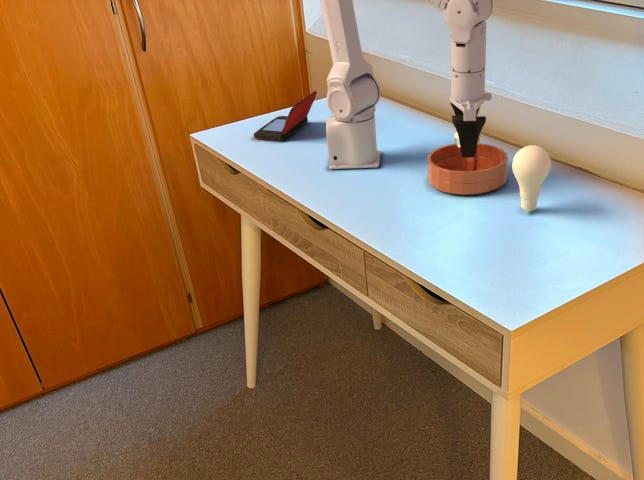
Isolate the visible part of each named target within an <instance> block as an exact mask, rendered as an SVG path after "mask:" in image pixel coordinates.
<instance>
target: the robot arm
mask: <svg viewBox="0 0 644 480" xmlns="http://www.w3.org/2000/svg"><path fill="white" fill-rule="evenodd" d="M430 2H432V4H434V5H435V6H436V7H437V8H438V9H440V10H441V12H442V13H443V14H442V15H443V18H444V21H445V23H446V25H447V26H448V28H449V32H450V36H449V37H450V94H449V102H450V103H449V104H450V106H451V108H452V110H453V112H454V115H451V122H452V124H453V127H454V128H455V130H456V132H457V133H458V137H459V142H460V149H461V154H462V157H474V156H475V153H476V149H477V143H478V139H479V135H480V134H481V132H482V130H483V128H484V126H485V124H486V122H487V117H486V115H485V116H484V115H483V116H482V115H481V116H478V114H479V111H480V109H481V107H482V105H483V104H484V103H485V102H487V101H488V102H489V101H492V100H493V95H492V93H491V92H486V60H487V59H486V58H487V55H486V54H487V20H488V19H489V18H490V17H491V15H492V13H493V8H494V2H493V0H430ZM320 5H321V10H322V16H323V20H324V26H325V31H326V35H327V40H328V45H329V50H330V55H331V59H332V67H331V69H330V71H329V72H328V76H327V78H326V84H327V85H326V86H327V94H326V103H327V104H326V105H327V108H328V110H329V112H330V113H331V115H332V116H327V117H326V121H325V134H326V145H327V154H328V161H329V162H328V163H329V169H330V170H345V169H347V170H348V169H369V168H370V169H371V168H373V169H375V168H379V167H380V161H381V150H378V144H377V131H376V128H377V127H376V115H375V114H376V113H375V112H376V105H377V104H379V102H380V99H381V96H382V95H381V93H382V92H381V86H380V84H379V82H378V80H377V78H376V77H375V74H374V70H373V66H372V65H371V64H370V63H369V62H368V61H367V60H366V59H364V57H363V52H362V47H361V46H362V45H361V41H360V34H359V29H358V24H357V18H356V12H355V7H354V2H353V0H320Z"/></svg>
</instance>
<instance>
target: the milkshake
mask: <svg viewBox="0 0 644 480" xmlns="http://www.w3.org/2000/svg"><path fill="white" fill-rule="evenodd" d="M480 143H481V133H480V135H479V139H478V143H477V149H476V153H475V156H474V157H462V154H461V149H460V142H459V137H458V133H457V131H456V132H455V133H454V144H455V147H456V156H457V169H458V171H477V160H478V151H479V144H480Z"/></svg>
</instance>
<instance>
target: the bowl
mask: <svg viewBox="0 0 644 480" xmlns="http://www.w3.org/2000/svg"><path fill="white" fill-rule="evenodd" d="M508 165H509V156H508V153H507V152H506V151H505V150H504V149H503V148H500V147H498V146H496V145H492V144H487V143H481V142H480V144H479V151H478V160H477V171H458V169H457V156H456V147H455V143H452V144H447V145H443V146H440V147H436V149H434V150H432V151H431V152H429V154H428V155H427V182H428V184H429V186H431V187H432V188H434V189H435V190H438V191H440V192H444V193H446V194H447V193H448V194H453V195H460V196H461V195H462V196H463V195H464V196H469V195H471V196H472V195H479V194H484V193H489V192H492V191H494V190H497V189H499V188H501V187H502V186H504V185H505V184H506V182H507V180H508V169H509V168H508V167H509V166H508Z"/></svg>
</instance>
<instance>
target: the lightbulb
mask: <svg viewBox="0 0 644 480" xmlns="http://www.w3.org/2000/svg"><path fill="white" fill-rule="evenodd" d="M511 162H512V163H511V168H512V169H511V170H512V173H513V175H514V177H515V179H516V182H517V184H518V188H519V196H520V201H521V202H520V206H521V209H522V210H523V211H525V212H528V213H531V212H532V211H534V210H536V208H537V205H538V200H539V199H538V198H539V197H540V191H541V188H542V186H543V184H544V182H545V180H546V179H547V177H548V175H549V174H550V171H551V168H552V159H551V157H550V155H549V153H548V151H546V150H545V148H543V147H542V146H539V145H535V144H531V145H530V144H529V145H525V146H523V147H522V148H520V149H519V150H518V151H517V152H516V154H514V156H513V159H512V161H511Z"/></svg>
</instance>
